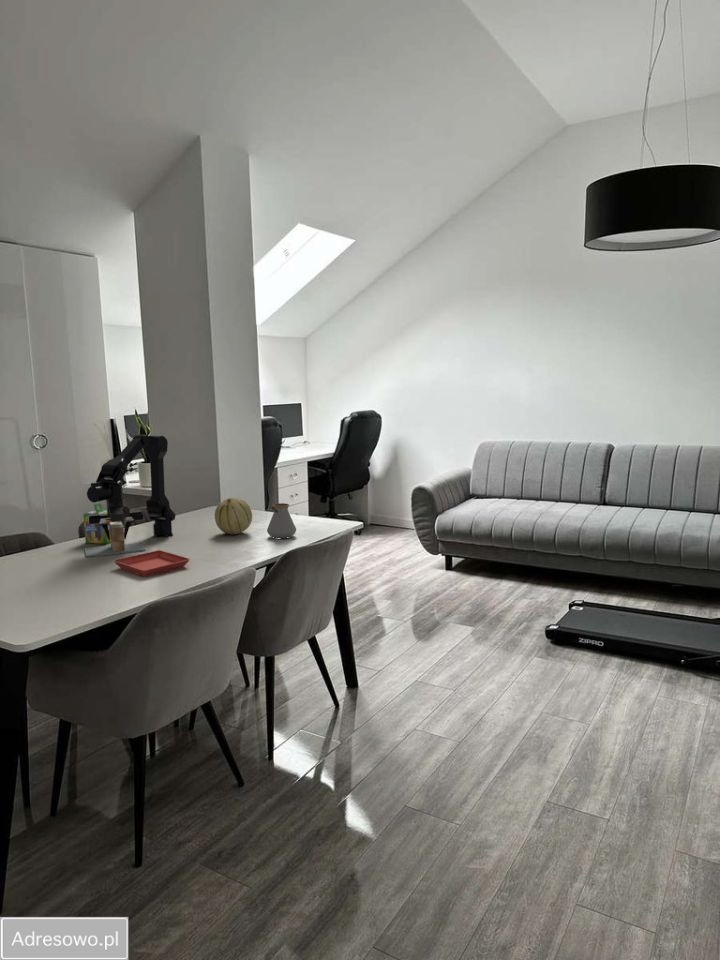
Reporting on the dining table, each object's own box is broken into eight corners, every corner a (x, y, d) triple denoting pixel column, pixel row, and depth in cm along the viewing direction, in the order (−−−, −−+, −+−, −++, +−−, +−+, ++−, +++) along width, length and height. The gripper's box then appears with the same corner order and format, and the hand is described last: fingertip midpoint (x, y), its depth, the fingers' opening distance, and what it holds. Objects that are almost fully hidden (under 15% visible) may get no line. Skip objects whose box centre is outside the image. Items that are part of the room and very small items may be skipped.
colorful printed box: (106, 544, 267) (104, 506, 265) (84, 543, 269) (81, 505, 267) (119, 539, 276) (117, 501, 274) (98, 538, 278) (95, 501, 276)
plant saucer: (191, 567, 236) (191, 558, 236) (144, 580, 223) (143, 569, 222) (159, 558, 248) (159, 549, 247) (112, 570, 234) (112, 560, 234)
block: (122, 545, 263) (121, 521, 262) (124, 550, 256) (123, 525, 255) (111, 546, 262) (109, 522, 261) (113, 551, 255) (111, 526, 253)
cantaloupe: (254, 529, 291) (253, 493, 289) (250, 537, 277) (249, 499, 274) (218, 530, 291) (217, 493, 288) (212, 538, 276) (210, 500, 274)
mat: (141, 543, 268) (140, 542, 268) (145, 551, 257) (145, 549, 257) (84, 549, 260) (84, 548, 260) (86, 557, 249) (86, 555, 249)
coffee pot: (270, 533, 284) (269, 496, 282) (299, 533, 283) (298, 496, 280) (257, 546, 263) (256, 506, 261) (288, 547, 262) (287, 507, 259)
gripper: (88, 503, 245) (91, 547, 248) (144, 499, 253) (146, 542, 255) (86, 498, 255) (89, 540, 258) (140, 494, 263) (142, 535, 265)
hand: (117, 539), depth 259 cm, fingers open, 5 cm apart
